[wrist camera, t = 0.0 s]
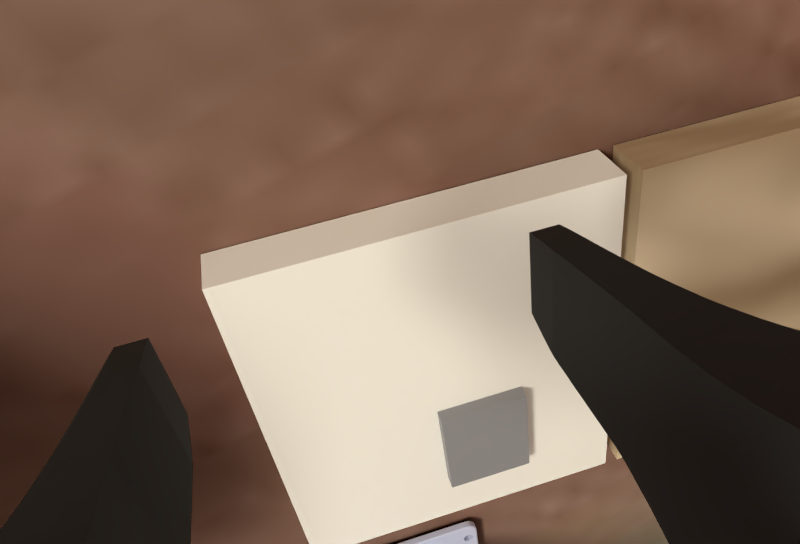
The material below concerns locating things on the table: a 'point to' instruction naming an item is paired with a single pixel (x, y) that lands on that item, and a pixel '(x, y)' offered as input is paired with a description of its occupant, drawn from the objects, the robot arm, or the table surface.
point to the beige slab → (720, 210)
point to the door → (413, 349)
